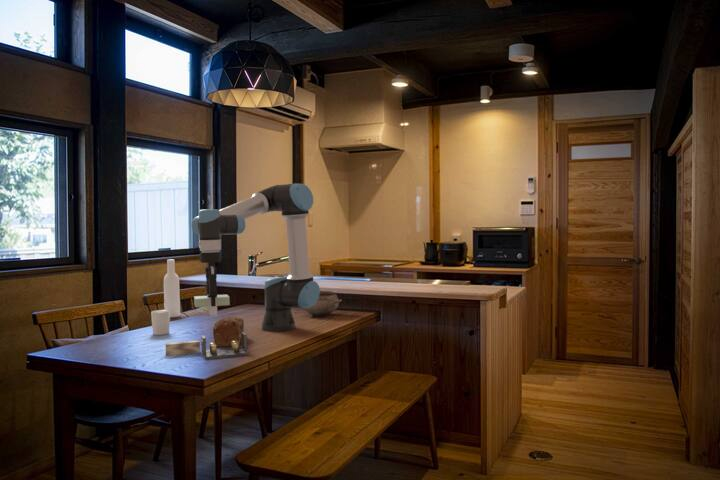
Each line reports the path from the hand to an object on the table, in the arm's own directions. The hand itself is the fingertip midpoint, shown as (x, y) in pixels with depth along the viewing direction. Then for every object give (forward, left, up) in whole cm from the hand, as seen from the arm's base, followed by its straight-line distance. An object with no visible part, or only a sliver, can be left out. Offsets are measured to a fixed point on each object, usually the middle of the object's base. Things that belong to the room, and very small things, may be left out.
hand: (212, 313), depth 214 cm
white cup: (+16, -52, -15) cm, 57 cm away
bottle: (+9, -102, -15) cm, 103 cm away
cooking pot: (-62, -66, -15) cm, 92 cm away
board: (0, 0, +3) cm, 3 cm away
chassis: (-4, +2, -15) cm, 16 cm away
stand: (+10, -6, -15) cm, 19 cm away
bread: (-9, -20, -15) cm, 26 cm away
